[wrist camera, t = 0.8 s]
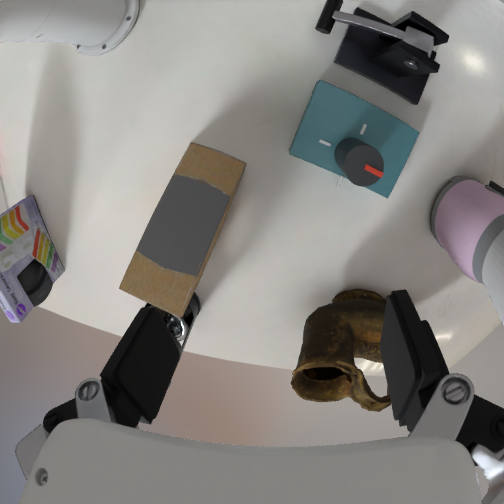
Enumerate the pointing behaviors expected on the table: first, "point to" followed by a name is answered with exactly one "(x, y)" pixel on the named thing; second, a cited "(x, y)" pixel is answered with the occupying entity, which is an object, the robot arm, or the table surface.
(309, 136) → the teal dial base
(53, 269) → the cake pan box
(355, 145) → the knob
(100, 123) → the table surface
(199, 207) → the sandwich container
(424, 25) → the black lever stand
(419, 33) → the press lever
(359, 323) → the pottery vessel
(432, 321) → the table surface
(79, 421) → the robot arm
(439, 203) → the blender
